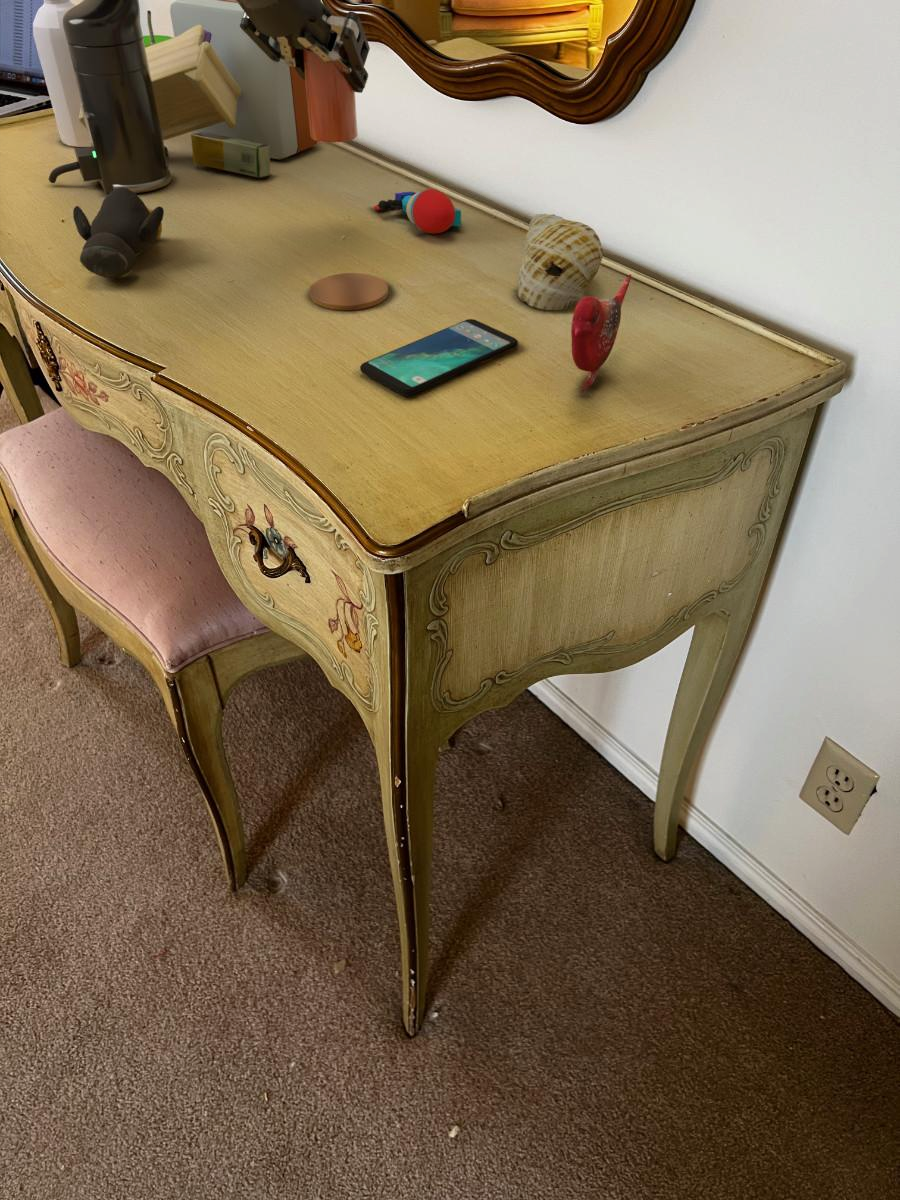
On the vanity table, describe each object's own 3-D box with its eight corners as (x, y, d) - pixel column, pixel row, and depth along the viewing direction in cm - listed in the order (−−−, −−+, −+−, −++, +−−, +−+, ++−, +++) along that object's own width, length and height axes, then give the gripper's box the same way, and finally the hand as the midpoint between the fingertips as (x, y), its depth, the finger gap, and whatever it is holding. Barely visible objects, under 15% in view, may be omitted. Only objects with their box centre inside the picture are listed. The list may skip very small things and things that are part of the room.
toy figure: (369, 223, 120) (421, 241, 109) (367, 181, 117) (420, 196, 106) (421, 217, 123) (477, 235, 112) (420, 177, 120) (477, 190, 109)
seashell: (551, 315, 95) (527, 213, 91) (507, 322, 103) (484, 229, 100) (631, 289, 98) (611, 190, 95) (582, 299, 106) (562, 208, 103)
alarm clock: (322, 147, 138) (308, -16, 125) (284, 162, 133) (265, -6, 119) (230, 128, 146) (207, -28, 132) (190, 142, 140) (162, -19, 127)
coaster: (324, 316, 96) (324, 310, 96) (301, 285, 102) (300, 280, 102) (399, 302, 99) (399, 296, 98) (372, 272, 104) (372, 267, 104)
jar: (318, 145, 104) (308, 31, 96) (304, 132, 107) (293, 22, 100) (364, 139, 105) (357, 27, 98) (348, 127, 109) (341, 18, 102)
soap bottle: (45, 143, 141) (-8, -46, 125) (92, 128, 147) (48, -55, 131) (84, 152, 137) (36, -41, 121) (131, 136, 143) (91, -50, 127)
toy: (100, 238, 112) (60, 289, 101) (84, 176, 108) (41, 223, 97) (183, 238, 112) (152, 290, 101) (172, 176, 108) (138, 223, 96)
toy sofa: (240, 127, 128) (245, 71, 131) (205, 76, 120) (210, 18, 124) (114, 167, 134) (121, 113, 138) (73, 121, 126) (81, 65, 130)
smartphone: (521, 340, 90) (405, 392, 83) (521, 347, 91) (406, 399, 83) (470, 316, 94) (355, 364, 87) (470, 323, 95) (356, 371, 87)
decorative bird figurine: (551, 415, 82) (560, 306, 75) (609, 331, 94) (621, 231, 87) (583, 421, 81) (595, 313, 74) (637, 336, 93) (651, 236, 86)
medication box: (272, 175, 129) (271, 144, 127) (260, 179, 127) (258, 147, 125) (204, 160, 133) (201, 130, 131) (191, 163, 131) (188, 132, 129)
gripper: (339, -64, 86) (405, 56, 102) (214, -72, 91) (295, 45, 107) (314, 12, 86) (383, 121, 102) (190, 0, 91) (275, 106, 107)
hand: (338, 81), depth 104 cm, fingers closed on jar, 5 cm apart
